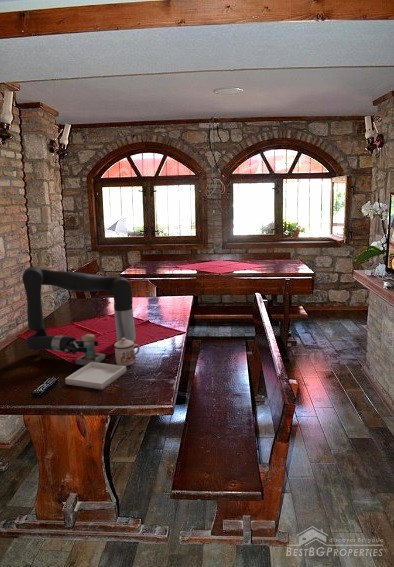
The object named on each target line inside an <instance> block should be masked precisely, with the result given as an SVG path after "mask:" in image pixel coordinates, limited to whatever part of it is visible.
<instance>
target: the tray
mask: <svg viewBox="0 0 394 567" xmlns="http://www.w3.org/2000/svg"><path fill="white" fill-rule="evenodd" d="M126 372H127V366H121V365H117V364H111V363H103V362H99V363H97V362H90V363H89V364H87V365H83V367H81V368H79V369H77V370H76V371H74V372H73V373H72V374H70V375H68V376H67V377H66V378H64V380H65V381H64V382H65V385H69V386H70V385H71V386H77V387H81V388H83V387H84V388H89V389H90V388H91V389H97V390H104V389H105V388H107V387H108V386H110V385H111V384H112V383H113V382H115V381H116V380H117V379H119V378H121V377H122V375H124V374H126Z"/></svg>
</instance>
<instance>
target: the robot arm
mask: <svg viewBox="0 0 394 567" xmlns="http://www.w3.org/2000/svg"><path fill="white" fill-rule="evenodd" d="M21 278H22V283H23V286H24V290H25V294H26V304H27V306H26V308H27V309H26V311H27V314H26V315H27V327H28V329H29V330H30V331H34V334H32V335H31V334H30V335H29V336H28V337H27V338H26V339H25V346H26V348H28V349H29V350H32V351H44V350H49V351H55V352H59V353H65V354H71V355H76V354H79V353H84V354H85V353H86V352H87V348H85V347H84V341H82V339H76V338H75V337H74V336H70V335H69V336H67V335H51V334H50V335H49V334H47V330H46V327H45V326H44V314H43V313H44V312H43V305H42V295H41V292H42V286H52V287H57V288H60V289H64V290H67V291H72V292H79V293H80V292H81V293H87V292H90V293H91V292H97V291H99V292H100V291H101V292H108V293H113V295H112V296H113V309H114V310H113V311H114V319H115V320H114V321H115V330H116V331H115V332H116V340H117V341H116V342H118V341H120V340H121V339H122V338H126V339H127V340H131V341H133V342H134V343H135V341H136V338H137V334H136V327H135V326H136V324H135V318H134V311H133V302H134V300H133V289H132V283H130V281H129V280H128V279H127V278H126V277H123V276H102V275H96V274H92V273H84V272H78V271H77V272H76V271H59V270H51V269H46V268H41V267H38V266H37V267H36V266H29V267H28V268H26V269H24V271H23V272H22V277H21ZM93 341H94V346H95V347H98V346H99V341H98V340H93Z"/></svg>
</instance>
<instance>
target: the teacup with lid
mask: <svg viewBox="0 0 394 567" xmlns="http://www.w3.org/2000/svg"><path fill="white" fill-rule="evenodd" d="M113 347H114V353H115V354H114V355H115V363H116V364H115V365H121V366H126V367H128V366H131V365H133V364H134V363H136V355H138V354H139V352H140V349H141V346H140V345H139V344H137V343H135V341H134V342H133V341H131V340H127V339H126V338H122V339H121V340H120V341H118V342H117V341H116V342H115V343H114V345H113ZM135 347H137V349H136V352H135Z"/></svg>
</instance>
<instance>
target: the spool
mask: <svg viewBox="0 0 394 567" xmlns="http://www.w3.org/2000/svg"><path fill="white" fill-rule="evenodd" d="M95 339H96V335H95V334H93V333H92V334H91V333H87V334H83V335H82V336H81V339H80V340H82V341H84V347H85V348H87V352H86V353H84V354H85V358H84V360H94V359H95V358H97V357H96V356H95V353H96V348H95V347H96V346H94V341H95Z"/></svg>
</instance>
